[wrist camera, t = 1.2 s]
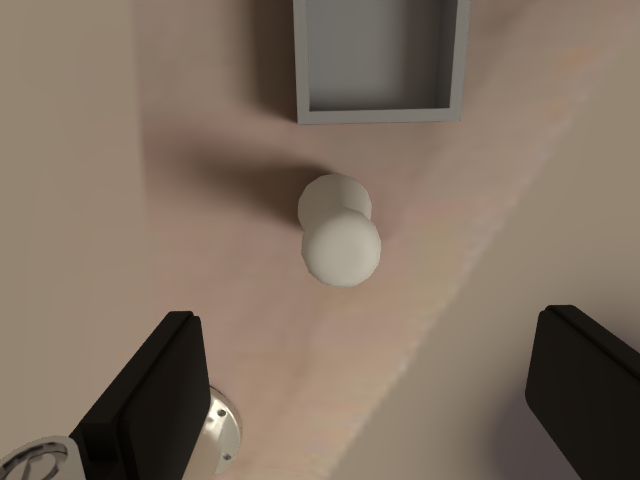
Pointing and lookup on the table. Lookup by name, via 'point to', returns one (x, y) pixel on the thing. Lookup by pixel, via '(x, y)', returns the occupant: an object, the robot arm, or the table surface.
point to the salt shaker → (338, 231)
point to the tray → (380, 60)
